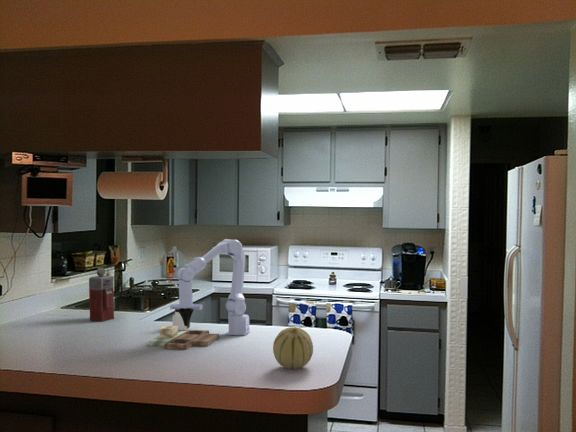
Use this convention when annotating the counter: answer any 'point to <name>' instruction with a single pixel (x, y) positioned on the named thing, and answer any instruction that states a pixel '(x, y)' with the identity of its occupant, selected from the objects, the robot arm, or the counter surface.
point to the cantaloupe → (293, 348)
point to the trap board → (186, 340)
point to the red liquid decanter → (101, 297)
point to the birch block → (168, 331)
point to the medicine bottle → (179, 321)
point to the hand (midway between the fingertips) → (186, 325)
